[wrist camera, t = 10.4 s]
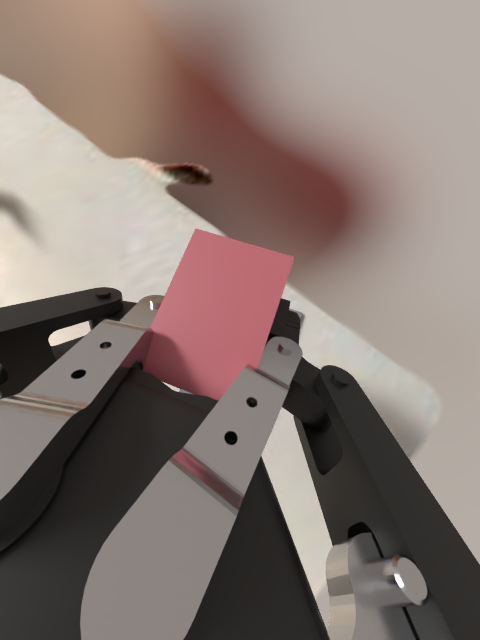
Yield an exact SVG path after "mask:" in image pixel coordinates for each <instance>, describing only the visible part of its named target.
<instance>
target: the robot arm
mask: <svg viewBox="0 0 480 640" xmlns="http://www.w3.org/2000/svg"><path fill="white" fill-rule="evenodd" d="M164 297H165V296H161V295H151V296H147V297H144V298H142V299H141V300H140V301H139V302H138V303H134V302H127V301H123V300H122V293H121V292H120V291H119V290H117V289H114V288H108V287H101V288H94V289H89V290H84V291H79V292H74V293H70V294H65V295H60V296H55V297H50V298H45V299H40V300H36V301H31V302H26V303H21V304H16V305H11V306H7V307H2V308H0V640H480V565H479V563H478V562H477V560H476V559H475V557H474V556H473V554H472V553H471V551H470V550H469V548H468V547H467V545H466V544H465V542H464V541H463V539H462V538H461V536H460V535H459V533H458V532H457V530H456V529H455V527H454V526H453V524H452V523H451V521H450V520H449V519H448V517H447V515H446V514H445V512H444V511H443V509H442V508H441V506H440V505H439V503H438V502H437V500H436V499H435V497H434V496H433V494H432V493H431V491H430V490H429V489H428V487H427V486H426V484H425V483H424V481H423V480H422V478H421V477H420V475H419V474H418V472H417V471H416V469H415V468H414V466H413V465H412V463H411V462H410V460H409V459H408V457H407V456H406V454H405V453H404V451H403V450H402V448H401V447H400V445H399V444H398V442H397V441H396V439H395V438H394V436H393V435H392V433H391V432H390V430H389V429H388V427H387V426H386V424H385V423H384V421H383V420H382V418H381V417H380V415H379V414H378V412H377V411H376V409H375V408H374V406H373V405H372V404H371V402H370V401H369V399H368V398H367V396H366V395H365V393H364V392H363V390H362V389H361V387H360V386H359V384H358V383H357V381H356V380H355V379H354V377H353V376H352V375H350V374H349V373H348V372H347V371H345V370H343V369H341V368H339V367H336V366H332V365H327V366H324V367H323V368H322V369H321V370H320V369H318V368H317V367H315V366H313V365H312V364H310V363H309V362H307V361H306V360H305V359H304V358H303V357H302V349H301V348H300V346H299V332H300V330H299V329H300V317H299V315H298V314H297V313H296V312H293V311H290V310H289V306H290V301H288V300H285V299H282V298H281V299H280V302H279V305H278V308H277V311H276V314H275V317H274V320H273V323H272V326H271V329H270V332H269V335H268V338H267V341H266V344H265V347H264V350H263V353H262V356H261V359H260V362H259V365H258V368H255V367H254V366H252V365H250V364H247V365H246V366H245V367H244V369H243V370H242V371H241V373H240V374H239V375H238V377H237V378H236V379H235V380H234V382H233V383H232V384H231V386H230V387H229V388H228V390H227V391H226V392H225V394H224V395H223V396H222V397H221V399H220V400H219V401H218V400H215V399H213V398H210V397H208V396H202V395H195V394H188V393H182V392H176V391H173V390H172V389H170V388H169V387H168V386H167V385H165V384H164V383H163V382H161V381H160V380H159V379H157V378H156V377H155V376H153V375H152V374H150V373H147V372H145V371H142V370H143V369H144V365H145V362H146V358H147V355H148V352H149V348H150V345H151V341H152V338H153V334H154V331H153V330H152V328H150V327H151V325H152V323H153V321H154V318H155V316H156V314H157V312H158V310H159V307H160V305H161V303H162V301H163V299H164ZM85 321H89V325H90V329H91V331H90V332H89V333H88V334H87V335H85V336H83V337H80V338H77V339H74V340H71V341H68V342H65V343H62V344H59V345H56V346H50V344H49V341H48V338H49V336H50V335H51V334H52V333H53V332H54V331H56V330H59V329H62V328H66V327H69V326H72V325H76V324H79V323H82V322H85ZM281 407H283V408H284V409H286V410H287V411H289V412H290V413H291V414H293V415H294V422H295V425H296V428H297V431H298V435H299V438H300V441H301V444H302V447H303V451H304V454H305V457H306V460H307V464H308V467H309V470H310V473H311V477H312V480H313V483H314V486H315V490H316V493H317V496H318V499H319V503H320V506H321V509H322V512H323V516H324V519H325V522H326V525H327V528H328V532H329V535H330V538H331V541H332V545H333V547H332V548H331V550H330V552H329V553H328V557H327V561H326V581H327V586H328V592H329V598H330V620H329V626H328V630H326V627H325V625H324V622H323V620H322V617H321V614H320V611H319V609H318V606H317V603H316V601H315V598H314V595H313V593H312V590H311V587H310V585H309V582H308V579H307V577H306V574H305V571H304V569H303V566H302V563H301V561H300V558H299V555H298V553H297V550H296V547H295V545H294V542H293V539H292V537H291V534H290V531H289V529H288V526H287V523H286V521H285V518H284V515H283V513H282V510H281V507H280V505H279V502H278V499H277V497H276V494H275V491H274V489H273V486H272V483H271V481H270V478H269V475H268V472H267V470H266V467H265V464H264V462H263V459H262V456H261V455H262V452H263V450H264V448H265V445H266V443H267V440H268V438H269V436H270V433H271V431H272V429H273V426H274V424H275V421H276V419H277V417H278V414H279V412H280V410H281Z"/></svg>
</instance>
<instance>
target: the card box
mask: <svg viewBox="0 0 480 640" xmlns="http://www.w3.org/2000/svg"><path fill="white" fill-rule="evenodd" d="M293 260H294V257H292V256H289V255H286V254H282V253H278V252H275V251H272V250H268V249H265V248H261V247H258V246H254V245H251V244H247V243H244V242H241V241H237V240H234V239H230V238H227V237H223V236H220V235H216V234H213V233H209V232H206V231H203V230H199V229H195V231H194V233H193V235H192V237H191V240H190V242H189V244H188V246H187V248H186V251H185V253H184V255H183V257H182V259H181V262H180V264H179V266H178V268H177V270H176V272H175V275H174V277H173V279H172V281H171V283H170V286H169V288H168V290H167V292H166V294H165V297H164V299H163V301H162V303H161V305H160V307H159V310H158V312H157V314H156V316H155V318H154V321H153V323H152V325H151V327H150V328H152V330H153V331H154V334H153V338H152V341H151V345H150V348H149V352H148V355H147V358H146V362H145V365H144V369H143V370H142V371H145V372H147V373H150V374H152V375H153V376H155V377H156V378H157V379H159V380H160V381H162V382H165V383H167V384H170V385H172V386H175V387H177V388H180V389H182V390H185V391H187V392H190V393H192V394H195V395H202V396H208V397H210V398H213V399H215V400H218V401H219V400H220V399H221V397H222V396H223V395H224V394H225V392H226V391H227V390H228V388H229V387H230V386H231V384H232V383H233V382H234V380H235V379H236V378H237V377H238V375H239V374H240V373H241V371H242V370H243V369H244V367H245V366H246V365H247V364H250V365H252V366H254V367H255V368H258V365H259V362H260V359H261V356H262V353H263V350H264V347H265V344H266V341H267V338H268V335H269V332H270V329H271V326H272V323H273V320H274V317H275V314H276V311H277V308H278V305H279V302H280V299H281V296H282V293H283V290H284V287H285V284H286V281H287V278H288V275H289V272H290V269H291V266H292V263H293Z"/></svg>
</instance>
